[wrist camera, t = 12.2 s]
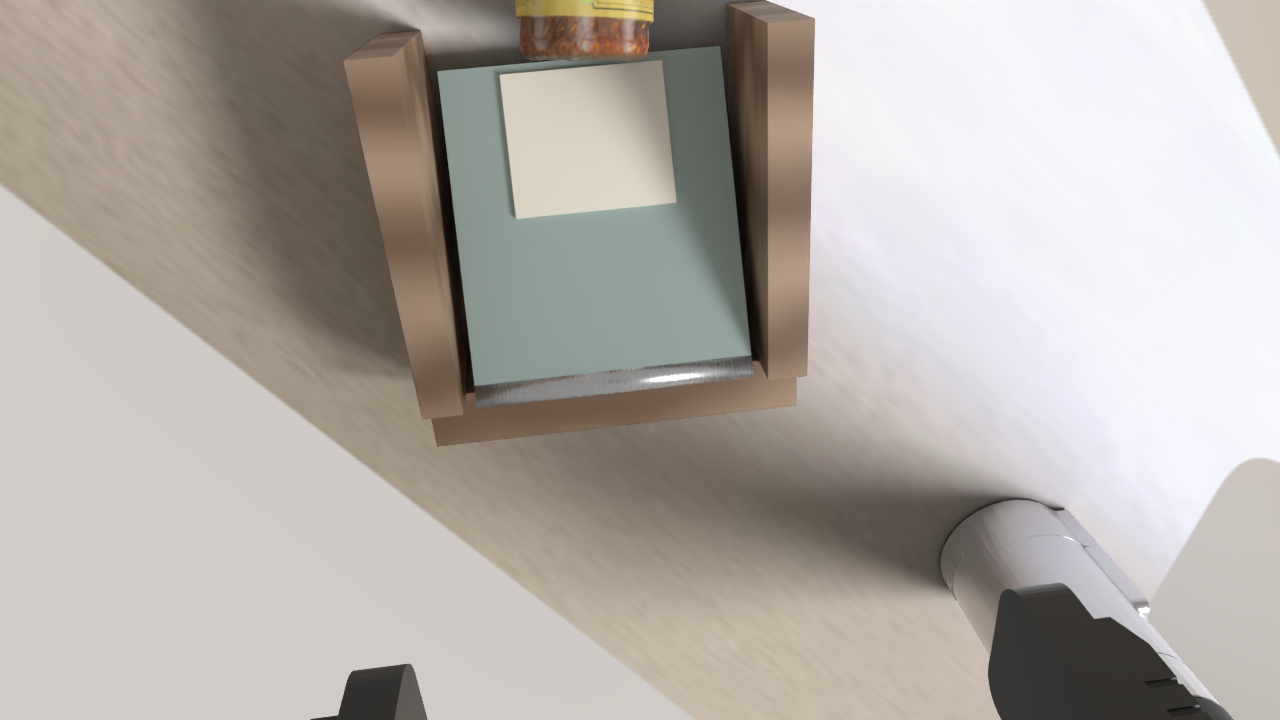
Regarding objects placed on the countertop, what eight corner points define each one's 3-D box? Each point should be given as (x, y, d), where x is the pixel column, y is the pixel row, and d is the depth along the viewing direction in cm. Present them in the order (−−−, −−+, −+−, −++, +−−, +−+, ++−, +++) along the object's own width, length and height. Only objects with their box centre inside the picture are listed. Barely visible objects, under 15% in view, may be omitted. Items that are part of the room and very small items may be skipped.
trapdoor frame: (766, 348, 53) (806, 424, 45) (449, 383, 52) (433, 467, 44) (765, 0, 44) (814, 18, 36) (380, 33, 43) (342, 60, 35)
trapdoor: (749, 376, 45) (754, 378, 43) (480, 406, 44) (476, 409, 43) (716, 53, 44) (720, 44, 43) (441, 77, 43) (436, 70, 42)
